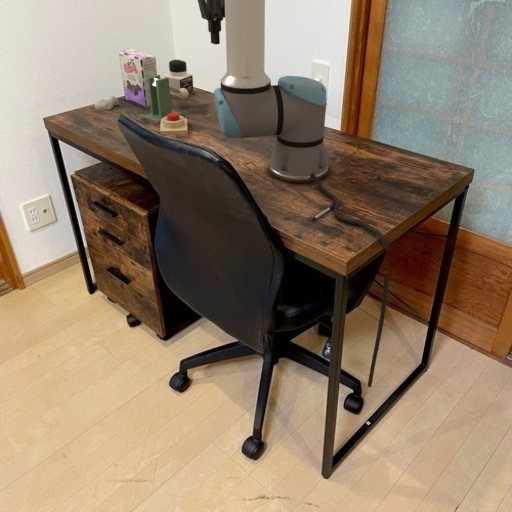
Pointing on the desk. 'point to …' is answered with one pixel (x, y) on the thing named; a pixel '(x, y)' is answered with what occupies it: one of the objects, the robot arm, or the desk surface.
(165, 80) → the bracket
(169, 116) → the button
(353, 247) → the desk surface
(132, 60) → the candy box
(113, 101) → the pale two-lobed sculpture
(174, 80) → the medicine bottle
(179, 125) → the button box
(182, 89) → the lever
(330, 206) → the ballpoint pen
